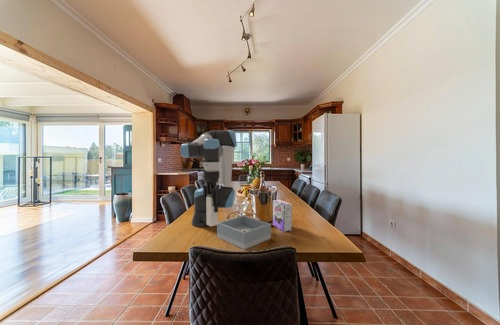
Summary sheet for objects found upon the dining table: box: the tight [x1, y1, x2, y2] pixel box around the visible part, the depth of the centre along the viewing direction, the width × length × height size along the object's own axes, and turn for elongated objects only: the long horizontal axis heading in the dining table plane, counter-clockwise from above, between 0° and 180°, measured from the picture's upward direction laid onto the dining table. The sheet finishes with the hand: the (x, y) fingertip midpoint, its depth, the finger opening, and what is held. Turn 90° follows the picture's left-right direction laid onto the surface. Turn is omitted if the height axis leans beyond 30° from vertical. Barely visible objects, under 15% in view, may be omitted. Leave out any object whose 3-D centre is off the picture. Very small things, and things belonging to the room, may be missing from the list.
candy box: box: [272, 199, 293, 233], centre depth 134 cm, size 14×6×16 cm, turn 23°
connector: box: [206, 194, 219, 227], centre depth 107 cm, size 4×4×15 cm
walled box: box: [216, 215, 272, 250], centre depth 118 cm, size 22×20×8 cm
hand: (212, 217), depth 107 cm, fingers closed on connector, 4 cm apart
